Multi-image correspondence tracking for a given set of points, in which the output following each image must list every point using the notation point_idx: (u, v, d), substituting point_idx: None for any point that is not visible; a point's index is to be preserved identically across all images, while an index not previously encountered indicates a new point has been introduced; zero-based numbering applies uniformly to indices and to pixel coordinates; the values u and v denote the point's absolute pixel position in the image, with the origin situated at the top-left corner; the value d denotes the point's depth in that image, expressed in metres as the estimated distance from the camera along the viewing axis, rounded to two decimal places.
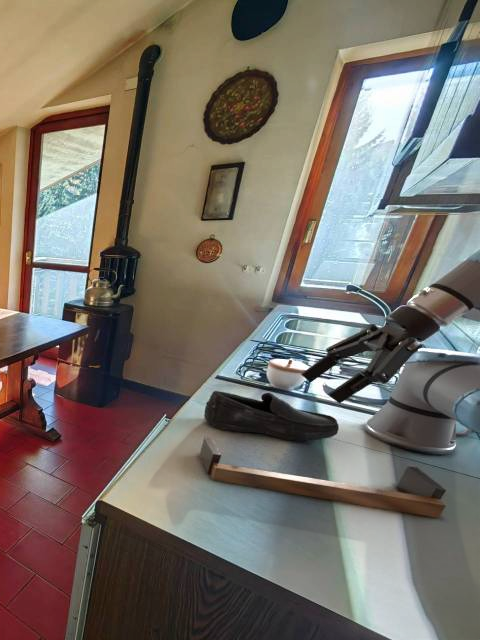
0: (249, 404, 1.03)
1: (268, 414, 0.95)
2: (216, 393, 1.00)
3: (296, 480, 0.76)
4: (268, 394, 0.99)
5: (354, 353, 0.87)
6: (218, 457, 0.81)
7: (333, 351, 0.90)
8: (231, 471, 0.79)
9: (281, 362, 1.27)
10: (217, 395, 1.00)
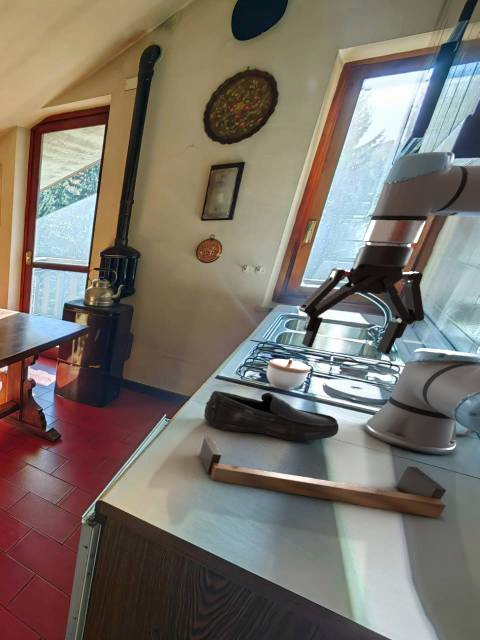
0: (249, 404, 1.03)
1: (268, 414, 0.95)
2: (216, 393, 1.00)
3: (296, 480, 0.76)
4: (268, 394, 0.99)
5: (393, 306, 0.78)
6: (218, 457, 0.81)
7: None
8: (231, 471, 0.79)
9: (281, 362, 1.27)
10: (217, 394, 1.00)
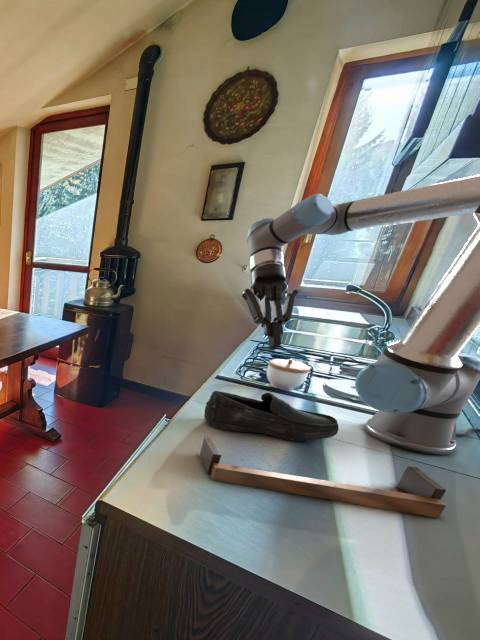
0: (249, 404, 1.03)
1: (268, 414, 0.95)
2: (216, 393, 1.00)
3: (296, 480, 0.76)
4: (268, 394, 0.99)
5: (275, 307, 1.04)
6: (218, 457, 0.81)
7: None
8: (231, 471, 0.79)
9: (281, 362, 1.27)
10: (217, 395, 1.00)
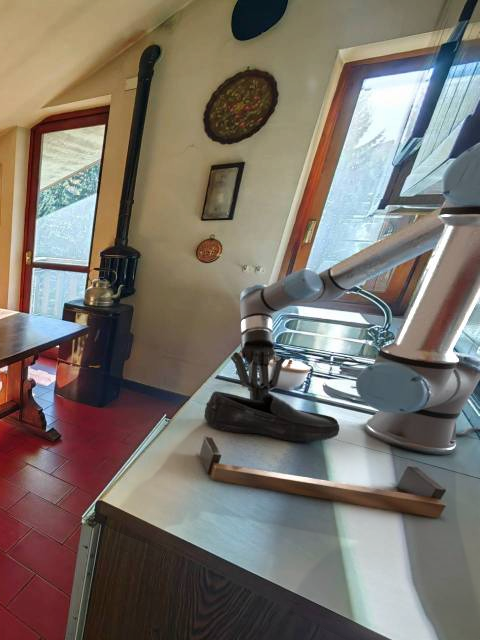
0: (249, 405, 1.02)
1: (268, 415, 0.95)
2: (216, 394, 1.00)
3: (296, 480, 0.76)
4: (268, 395, 0.99)
5: (262, 373, 1.07)
6: (218, 457, 0.81)
7: None
8: (231, 471, 0.79)
9: None
10: (217, 395, 1.00)
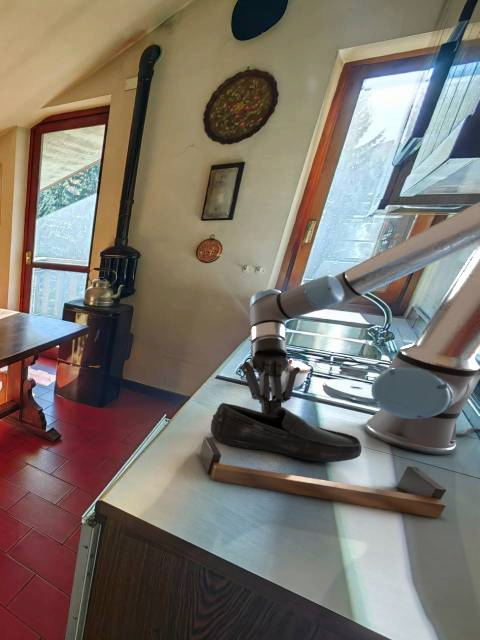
0: (261, 419, 0.95)
1: (279, 431, 0.88)
2: (223, 405, 0.93)
3: (296, 480, 0.76)
4: (282, 409, 0.91)
5: (275, 384, 0.99)
6: (218, 457, 0.81)
7: None
8: (231, 471, 0.79)
9: None
10: (224, 407, 0.93)
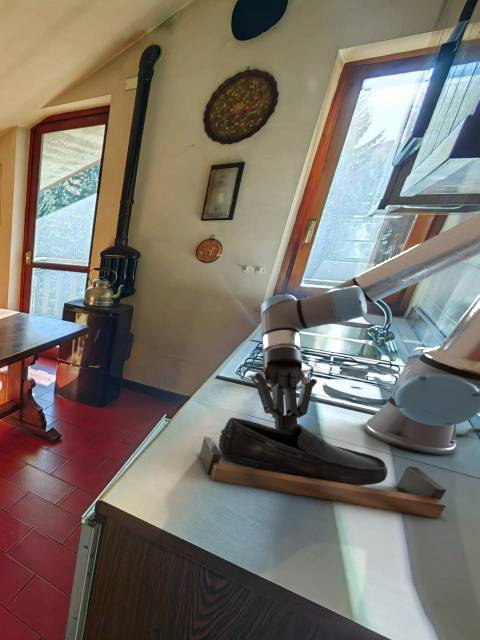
0: (275, 436, 0.87)
1: (294, 450, 0.80)
2: (232, 420, 0.86)
3: (296, 480, 0.76)
4: (298, 426, 0.83)
5: (289, 398, 0.92)
6: (218, 457, 0.81)
7: None
8: (231, 471, 0.79)
9: None
10: (233, 422, 0.86)
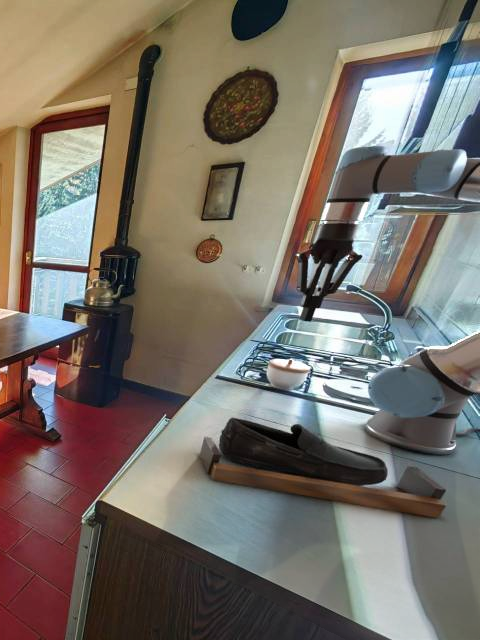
0: (275, 436, 0.87)
1: (294, 450, 0.80)
2: (233, 420, 0.86)
3: (296, 480, 0.76)
4: (298, 426, 0.83)
5: (325, 277, 0.96)
6: (218, 457, 0.81)
7: None
8: (231, 471, 0.79)
9: (281, 362, 1.27)
10: (233, 422, 0.86)
